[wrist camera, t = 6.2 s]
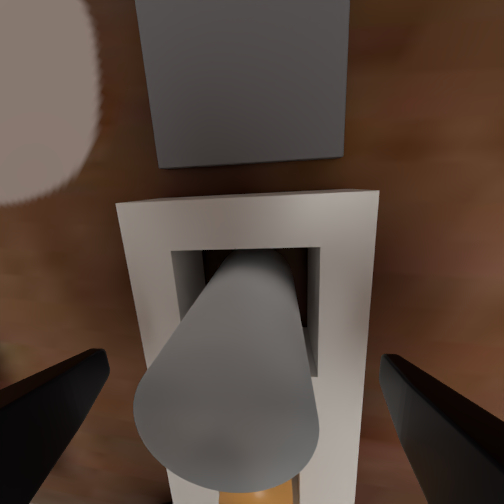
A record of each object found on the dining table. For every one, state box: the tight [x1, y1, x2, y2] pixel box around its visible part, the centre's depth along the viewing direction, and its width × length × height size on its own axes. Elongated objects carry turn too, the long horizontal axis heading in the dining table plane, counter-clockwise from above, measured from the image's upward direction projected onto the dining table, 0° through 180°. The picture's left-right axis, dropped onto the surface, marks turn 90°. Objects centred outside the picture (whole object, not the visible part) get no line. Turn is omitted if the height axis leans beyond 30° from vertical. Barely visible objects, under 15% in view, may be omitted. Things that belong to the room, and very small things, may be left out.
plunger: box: [219, 479, 293, 504], centre depth 14 cm, size 4×4×4 cm
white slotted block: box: [115, 189, 379, 504], centre depth 14 cm, size 10×18×4 cm, turn 3°
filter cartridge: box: [133, 248, 319, 493], centre depth 10 cm, size 4×4×9 cm
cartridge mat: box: [135, 0, 350, 169], centre depth 11 cm, size 9×9×1 cm
